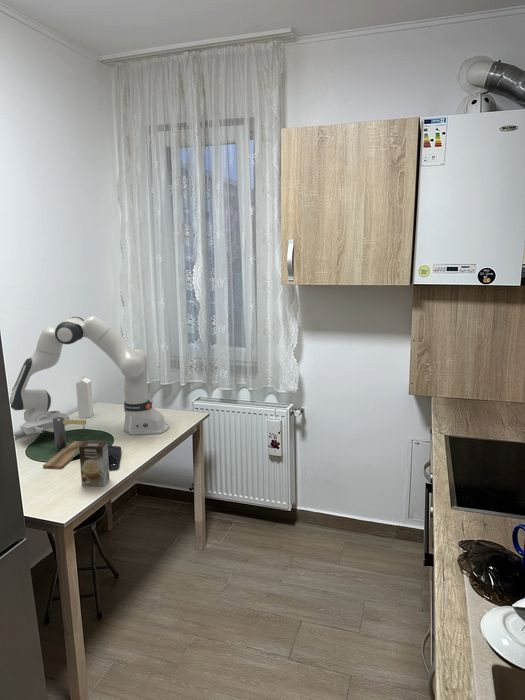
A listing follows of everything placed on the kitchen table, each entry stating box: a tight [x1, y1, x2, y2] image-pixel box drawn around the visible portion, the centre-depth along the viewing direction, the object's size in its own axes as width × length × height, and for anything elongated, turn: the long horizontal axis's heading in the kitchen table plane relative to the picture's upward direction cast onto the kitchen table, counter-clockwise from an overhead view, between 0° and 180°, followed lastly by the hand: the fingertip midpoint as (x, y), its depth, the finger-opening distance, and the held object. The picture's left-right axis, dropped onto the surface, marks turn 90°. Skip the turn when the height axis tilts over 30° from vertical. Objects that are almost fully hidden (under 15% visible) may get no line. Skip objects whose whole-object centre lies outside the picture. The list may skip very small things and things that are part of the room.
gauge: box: [53, 417, 87, 450], centre depth 221 cm, size 15×5×14 cm, turn 84°
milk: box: [75, 374, 94, 419], centre depth 263 cm, size 6×6×22 cm
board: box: [42, 440, 85, 470], centre depth 215 cm, size 8×26×1 cm, turn 174°
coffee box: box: [79, 439, 110, 487], centre depth 189 cm, size 9×6×16 cm
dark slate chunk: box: [108, 444, 122, 472], centre depth 209 cm, size 15×22×5 cm
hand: (53, 428), depth 227 cm, fingers open, 8 cm apart
